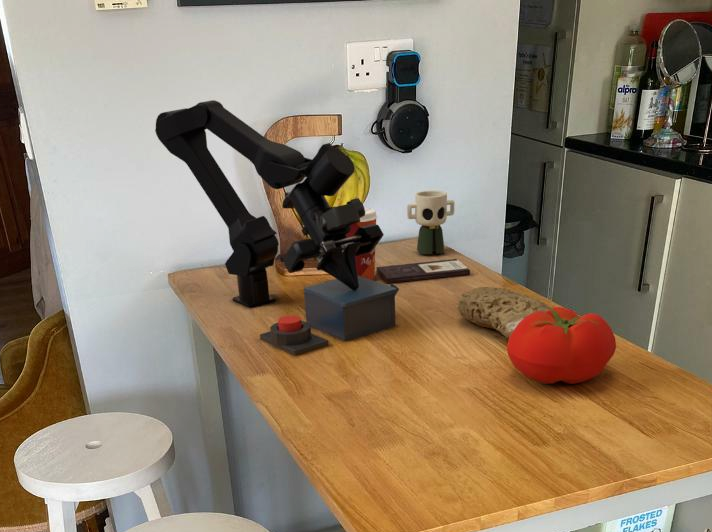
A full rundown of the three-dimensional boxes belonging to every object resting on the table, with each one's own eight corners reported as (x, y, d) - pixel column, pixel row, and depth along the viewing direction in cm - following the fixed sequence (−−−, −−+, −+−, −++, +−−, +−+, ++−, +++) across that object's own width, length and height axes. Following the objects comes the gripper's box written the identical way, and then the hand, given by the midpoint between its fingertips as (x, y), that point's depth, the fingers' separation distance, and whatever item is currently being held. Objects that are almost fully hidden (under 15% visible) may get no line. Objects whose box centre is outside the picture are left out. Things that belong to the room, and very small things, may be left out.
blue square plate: (397, 292, 147) (397, 288, 147) (345, 307, 141) (345, 303, 141) (354, 277, 156) (354, 274, 155) (303, 291, 150) (303, 287, 149)
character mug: (411, 259, 188) (411, 198, 181) (403, 251, 193) (403, 192, 187) (458, 254, 189) (459, 194, 182) (448, 247, 195) (450, 188, 188)
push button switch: (258, 340, 148) (256, 323, 146) (292, 330, 151) (291, 313, 150) (293, 357, 140) (291, 340, 138) (328, 345, 144) (327, 329, 142)
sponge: (565, 349, 141) (517, 292, 155) (566, 310, 136) (516, 254, 149) (493, 372, 140) (451, 313, 154) (491, 333, 135) (447, 275, 148)
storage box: (395, 325, 151) (394, 291, 148) (344, 341, 145) (342, 306, 142) (356, 310, 159) (354, 278, 156) (306, 325, 153) (303, 291, 150)
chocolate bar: (376, 267, 180) (456, 258, 182) (376, 271, 180) (456, 263, 183) (386, 278, 172) (469, 269, 175) (387, 283, 173) (469, 274, 175)
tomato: (487, 374, 131) (490, 312, 125) (567, 351, 137) (573, 292, 132) (548, 406, 120) (554, 340, 115) (632, 380, 126) (641, 316, 121)
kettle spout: (401, 310, 154) (400, 283, 152) (380, 316, 152) (379, 289, 149) (394, 307, 155) (394, 281, 153) (374, 313, 153) (373, 287, 150)
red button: (274, 329, 144) (273, 319, 144) (293, 323, 146) (292, 313, 146) (287, 334, 142) (286, 324, 141) (306, 329, 144) (305, 319, 143)
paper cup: (375, 285, 172) (373, 215, 165) (339, 284, 173) (336, 215, 166) (382, 274, 178) (380, 206, 171) (347, 273, 180) (344, 206, 172)
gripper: (287, 193, 137) (331, 273, 135) (375, 176, 146) (417, 251, 144) (266, 234, 146) (306, 309, 145) (350, 215, 156) (389, 286, 154)
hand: (356, 288), depth 147 cm, fingers closed
